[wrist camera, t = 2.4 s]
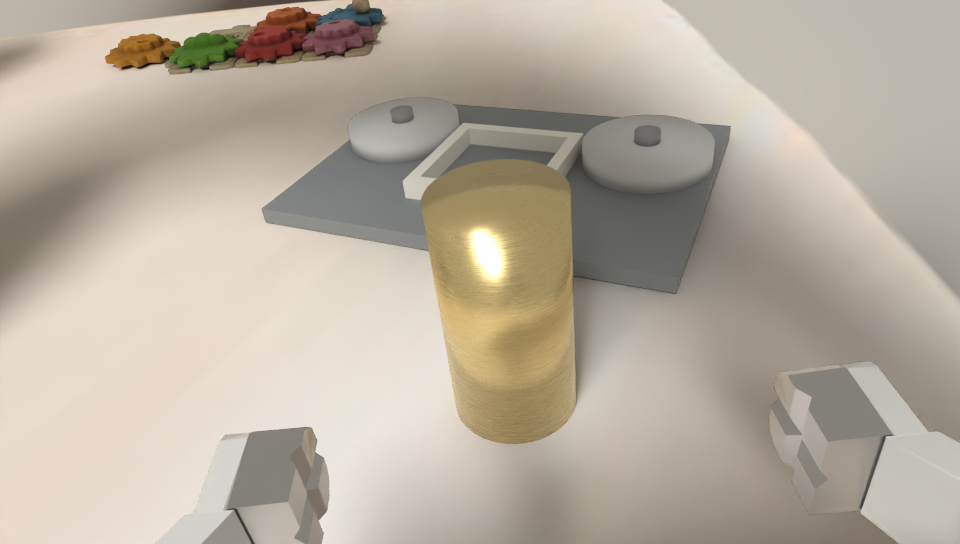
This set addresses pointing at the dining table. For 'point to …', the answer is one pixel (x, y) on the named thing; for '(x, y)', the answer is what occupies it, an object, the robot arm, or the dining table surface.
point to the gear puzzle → (260, 41)
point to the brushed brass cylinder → (505, 294)
